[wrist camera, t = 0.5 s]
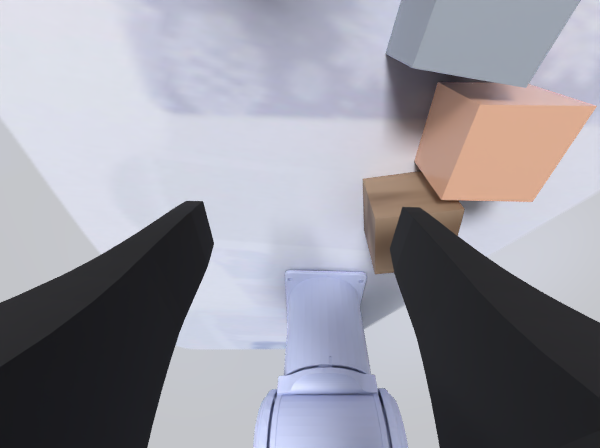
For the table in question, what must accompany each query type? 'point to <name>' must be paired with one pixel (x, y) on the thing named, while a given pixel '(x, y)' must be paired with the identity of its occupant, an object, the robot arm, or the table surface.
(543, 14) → the slate block
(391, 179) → the walnut block
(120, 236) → the table surface
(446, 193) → the terracotta block
